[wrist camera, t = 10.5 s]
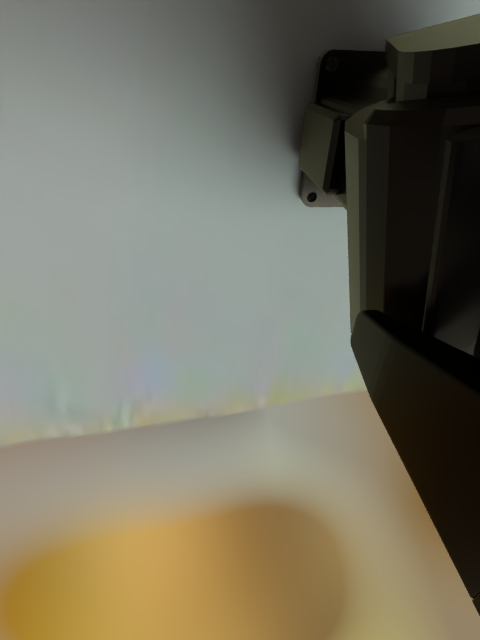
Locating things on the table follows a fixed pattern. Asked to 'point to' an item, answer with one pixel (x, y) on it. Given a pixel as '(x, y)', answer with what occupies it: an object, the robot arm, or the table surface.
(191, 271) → the table surface
